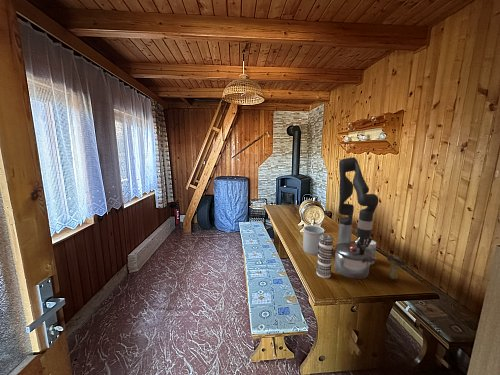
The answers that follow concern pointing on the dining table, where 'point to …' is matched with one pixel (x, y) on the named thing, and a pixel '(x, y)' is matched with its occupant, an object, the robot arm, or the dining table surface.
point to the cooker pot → (351, 267)
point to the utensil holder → (312, 239)
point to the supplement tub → (372, 250)
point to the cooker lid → (353, 252)
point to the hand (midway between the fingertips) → (361, 254)
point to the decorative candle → (325, 256)
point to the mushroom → (395, 265)
